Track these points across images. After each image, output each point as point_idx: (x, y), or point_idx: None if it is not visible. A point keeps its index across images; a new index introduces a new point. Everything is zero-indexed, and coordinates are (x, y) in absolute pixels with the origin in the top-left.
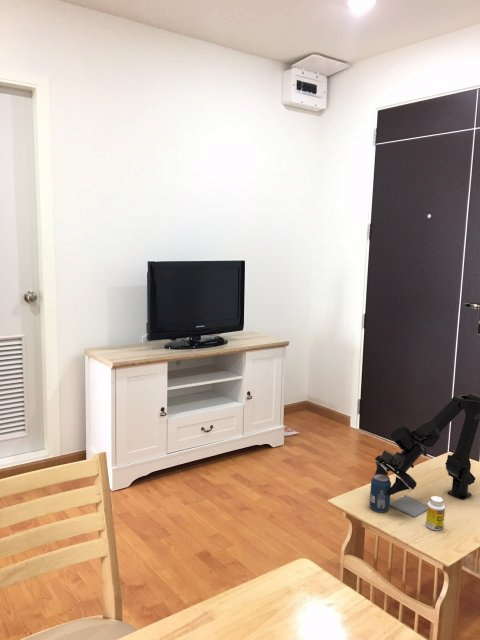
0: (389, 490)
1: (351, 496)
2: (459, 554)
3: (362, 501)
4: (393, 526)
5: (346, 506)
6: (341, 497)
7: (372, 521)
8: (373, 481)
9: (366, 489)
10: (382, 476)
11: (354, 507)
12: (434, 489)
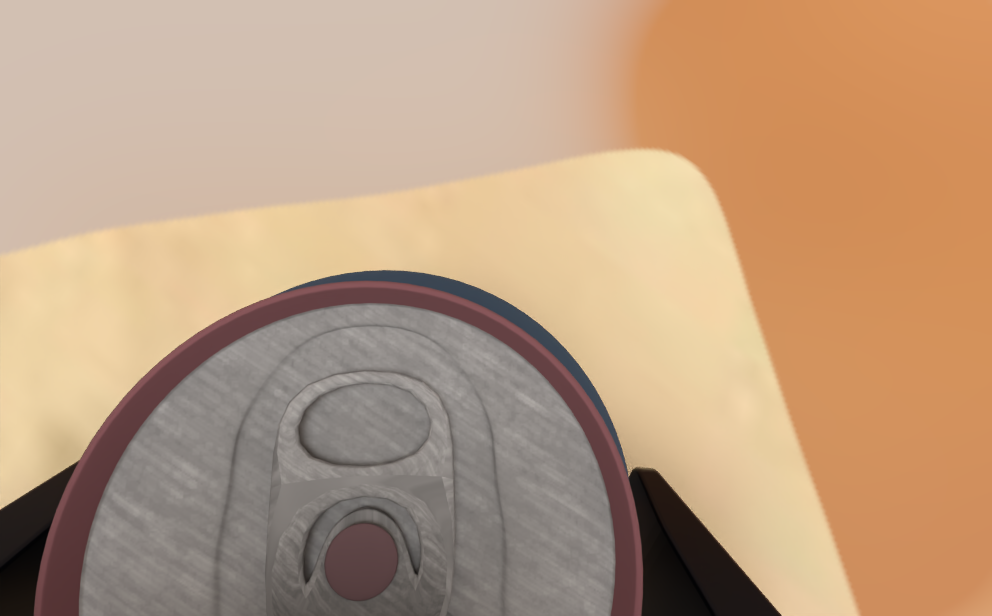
0: (39, 503)
1: (717, 331)
2: None
3: (600, 372)
4: (67, 352)
5: (568, 176)
6: (724, 233)
7: (247, 223)
8: (405, 276)
9: (809, 579)
10: None
11: (528, 229)
12: None
